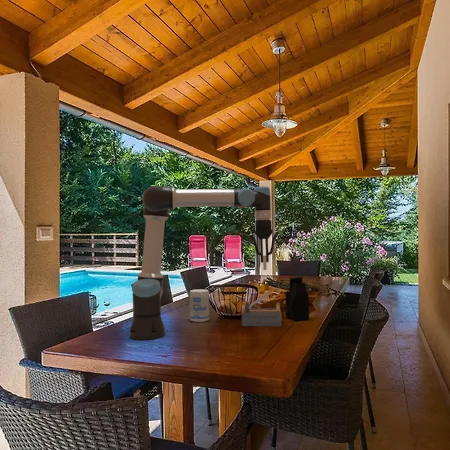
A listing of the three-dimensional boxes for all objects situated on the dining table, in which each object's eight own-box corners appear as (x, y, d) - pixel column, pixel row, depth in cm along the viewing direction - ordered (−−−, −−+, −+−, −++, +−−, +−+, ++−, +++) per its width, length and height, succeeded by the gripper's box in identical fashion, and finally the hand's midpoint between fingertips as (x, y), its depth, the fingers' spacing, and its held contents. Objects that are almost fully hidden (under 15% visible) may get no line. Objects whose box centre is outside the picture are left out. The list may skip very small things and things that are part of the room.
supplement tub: (193, 323, 202) (192, 292, 202) (187, 319, 211) (186, 290, 211) (212, 321, 206) (211, 290, 206) (205, 317, 215) (204, 288, 215)
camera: (298, 314, 216) (297, 275, 217) (311, 319, 203) (310, 278, 204) (280, 316, 213) (279, 276, 213) (293, 321, 200) (292, 279, 200)
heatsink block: (242, 326, 194) (241, 306, 194) (244, 320, 206) (243, 301, 206) (281, 326, 191) (281, 306, 191) (281, 320, 203) (281, 301, 203)
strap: (246, 310, 198) (245, 308, 198) (247, 309, 201) (245, 307, 201) (273, 291, 196) (272, 289, 196) (273, 290, 200) (272, 288, 200)
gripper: (248, 219, 196) (250, 270, 196) (277, 218, 195) (279, 270, 195) (249, 220, 204) (251, 269, 204) (277, 219, 202) (278, 268, 202)
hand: (265, 269), depth 199 cm, fingers closed
